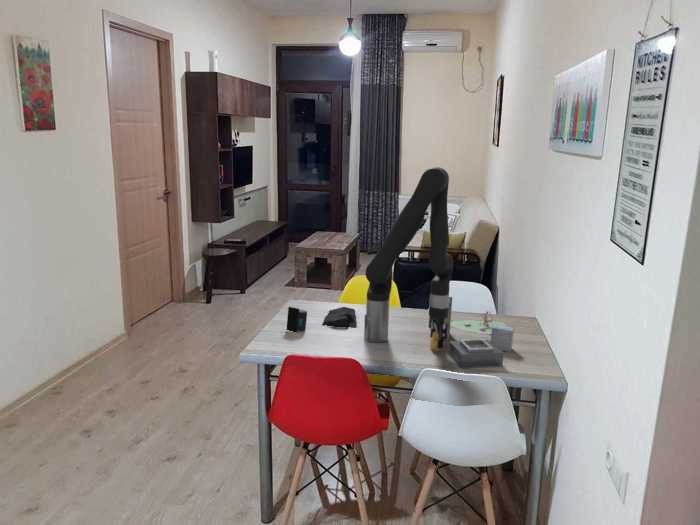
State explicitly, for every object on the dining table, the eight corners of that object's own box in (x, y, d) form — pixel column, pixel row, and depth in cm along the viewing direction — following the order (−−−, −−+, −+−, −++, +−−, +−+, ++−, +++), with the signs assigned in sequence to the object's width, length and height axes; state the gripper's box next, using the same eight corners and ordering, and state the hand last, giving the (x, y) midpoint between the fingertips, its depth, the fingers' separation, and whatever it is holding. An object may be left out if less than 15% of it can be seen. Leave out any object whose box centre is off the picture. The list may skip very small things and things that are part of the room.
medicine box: (512, 348, 222) (514, 327, 220) (510, 352, 218) (512, 331, 216) (492, 344, 225) (493, 324, 223) (489, 348, 221) (491, 327, 219)
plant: (450, 334, 238) (452, 313, 236) (446, 318, 258) (448, 299, 256) (510, 337, 236) (512, 316, 234) (502, 321, 256) (503, 302, 254)
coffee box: (434, 331, 238) (437, 295, 235) (449, 333, 237) (452, 296, 234) (433, 339, 230) (435, 301, 226) (449, 340, 228) (451, 303, 225)
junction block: (461, 367, 202) (462, 351, 201) (448, 353, 214) (449, 338, 213) (502, 365, 205) (503, 349, 204) (487, 352, 217) (488, 336, 216)
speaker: (293, 334, 230) (295, 309, 229) (286, 330, 235) (287, 306, 233) (308, 332, 235) (310, 308, 234) (300, 329, 240) (302, 305, 238)
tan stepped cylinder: (432, 351, 217) (433, 335, 215) (428, 346, 222) (429, 331, 220) (443, 350, 218) (445, 334, 216) (439, 346, 222) (440, 330, 221)
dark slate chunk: (359, 313, 261) (360, 304, 260) (356, 329, 240) (356, 319, 239) (327, 312, 262) (327, 302, 261) (320, 327, 241) (320, 317, 240)
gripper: (424, 299, 222) (422, 338, 225) (435, 310, 208) (433, 351, 212) (442, 299, 223) (439, 337, 227) (455, 309, 210) (452, 350, 213)
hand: (436, 344), depth 219 cm, fingers open, 8 cm apart
